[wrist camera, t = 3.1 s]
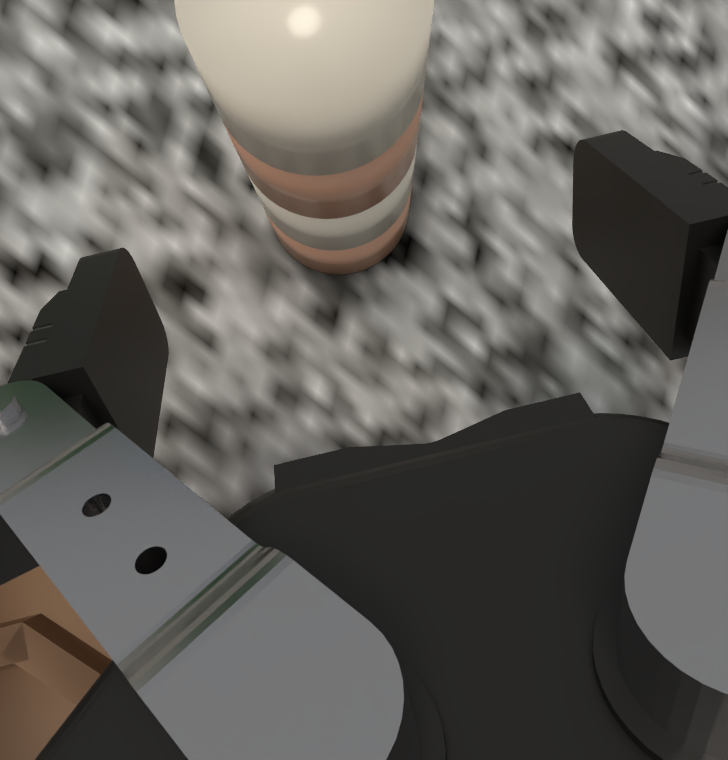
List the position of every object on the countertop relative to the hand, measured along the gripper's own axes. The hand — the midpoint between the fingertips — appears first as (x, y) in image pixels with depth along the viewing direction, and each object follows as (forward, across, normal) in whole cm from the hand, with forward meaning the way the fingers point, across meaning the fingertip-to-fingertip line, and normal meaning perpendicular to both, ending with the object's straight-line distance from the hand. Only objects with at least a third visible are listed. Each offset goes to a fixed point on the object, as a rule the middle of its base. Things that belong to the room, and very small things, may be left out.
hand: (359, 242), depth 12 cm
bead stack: (+9, 0, +3) cm, 10 cm away
